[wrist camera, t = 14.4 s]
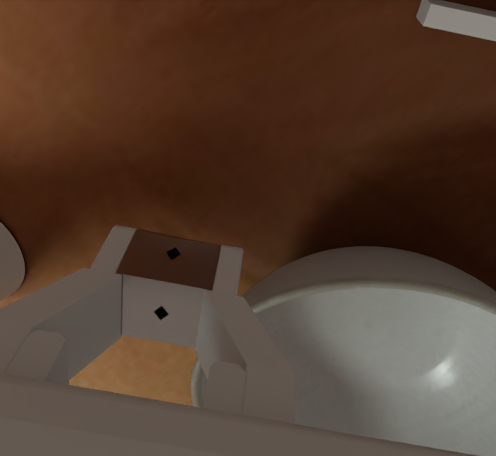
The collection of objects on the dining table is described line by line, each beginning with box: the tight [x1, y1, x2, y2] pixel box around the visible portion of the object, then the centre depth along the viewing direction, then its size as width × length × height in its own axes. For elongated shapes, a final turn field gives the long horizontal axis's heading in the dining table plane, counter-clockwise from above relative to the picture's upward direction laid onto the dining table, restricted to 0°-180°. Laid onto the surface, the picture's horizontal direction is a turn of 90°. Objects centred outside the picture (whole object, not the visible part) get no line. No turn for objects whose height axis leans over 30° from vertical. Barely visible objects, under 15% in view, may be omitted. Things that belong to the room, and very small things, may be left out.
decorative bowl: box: [191, 246, 496, 456], centre depth 39 cm, size 27×27×12 cm
